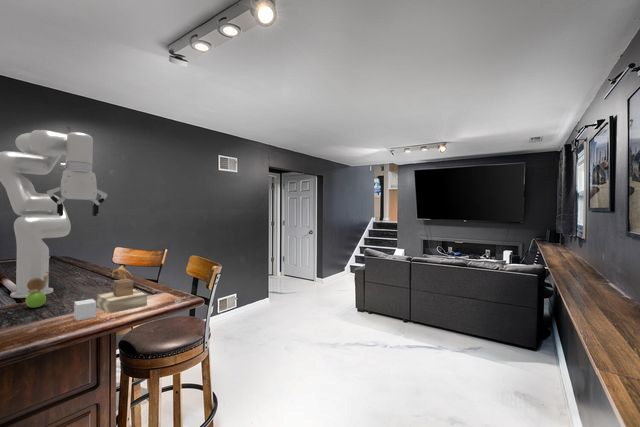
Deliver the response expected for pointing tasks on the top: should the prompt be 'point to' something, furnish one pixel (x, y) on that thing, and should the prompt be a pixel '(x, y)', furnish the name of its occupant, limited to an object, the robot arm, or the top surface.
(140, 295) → the birch block
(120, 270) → the figurine
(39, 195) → the robot arm
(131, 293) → the walnut cube
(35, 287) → the snail figurine
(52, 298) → the top surface
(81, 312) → the grey cube
